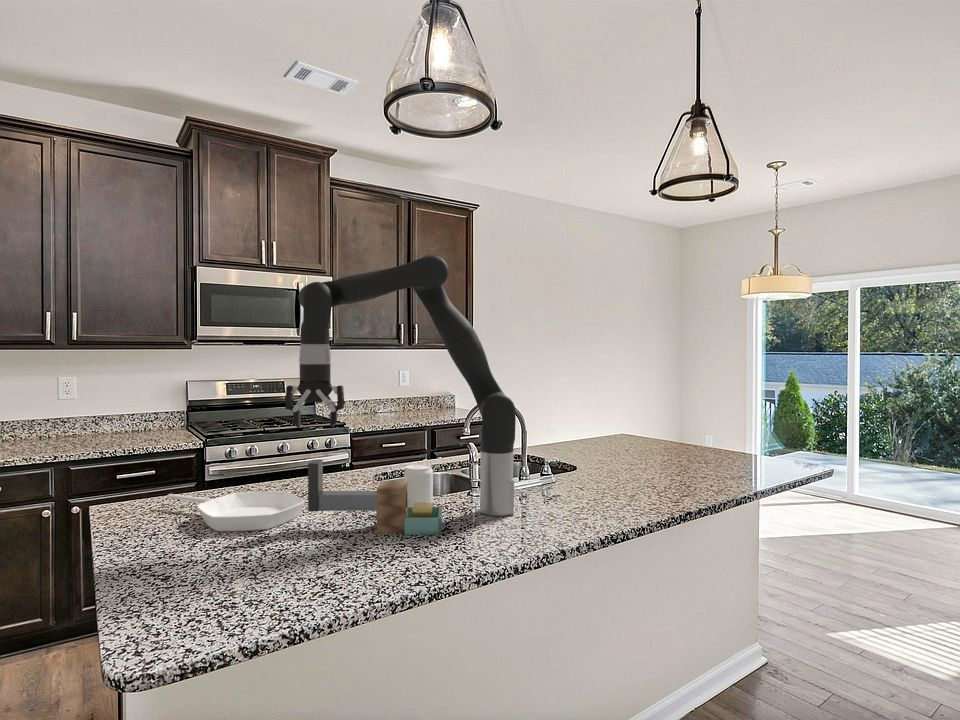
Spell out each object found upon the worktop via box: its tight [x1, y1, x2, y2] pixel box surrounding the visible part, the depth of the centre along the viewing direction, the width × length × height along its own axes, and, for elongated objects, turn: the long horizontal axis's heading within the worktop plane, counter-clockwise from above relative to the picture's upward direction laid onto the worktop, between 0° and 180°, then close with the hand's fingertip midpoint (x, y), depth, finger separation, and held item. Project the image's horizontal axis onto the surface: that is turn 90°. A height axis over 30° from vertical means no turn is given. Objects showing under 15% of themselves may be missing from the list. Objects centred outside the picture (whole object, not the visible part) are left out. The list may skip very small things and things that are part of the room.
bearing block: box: [376, 480, 408, 534], centre depth 152 cm, size 7×8×11 cm
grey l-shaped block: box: [307, 459, 377, 512], centre depth 152 cm, size 21×5×12 cm, turn 92°
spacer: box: [412, 502, 435, 518], centre depth 153 cm, size 5×5×5 cm
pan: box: [166, 490, 305, 533], centre depth 162 cm, size 28×41×4 cm
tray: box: [403, 505, 443, 536], centre depth 153 cm, size 9×11×4 cm
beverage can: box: [403, 463, 434, 506], centre depth 171 cm, size 8×8×12 cm
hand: (315, 426), depth 151 cm, fingers open, 8 cm apart
